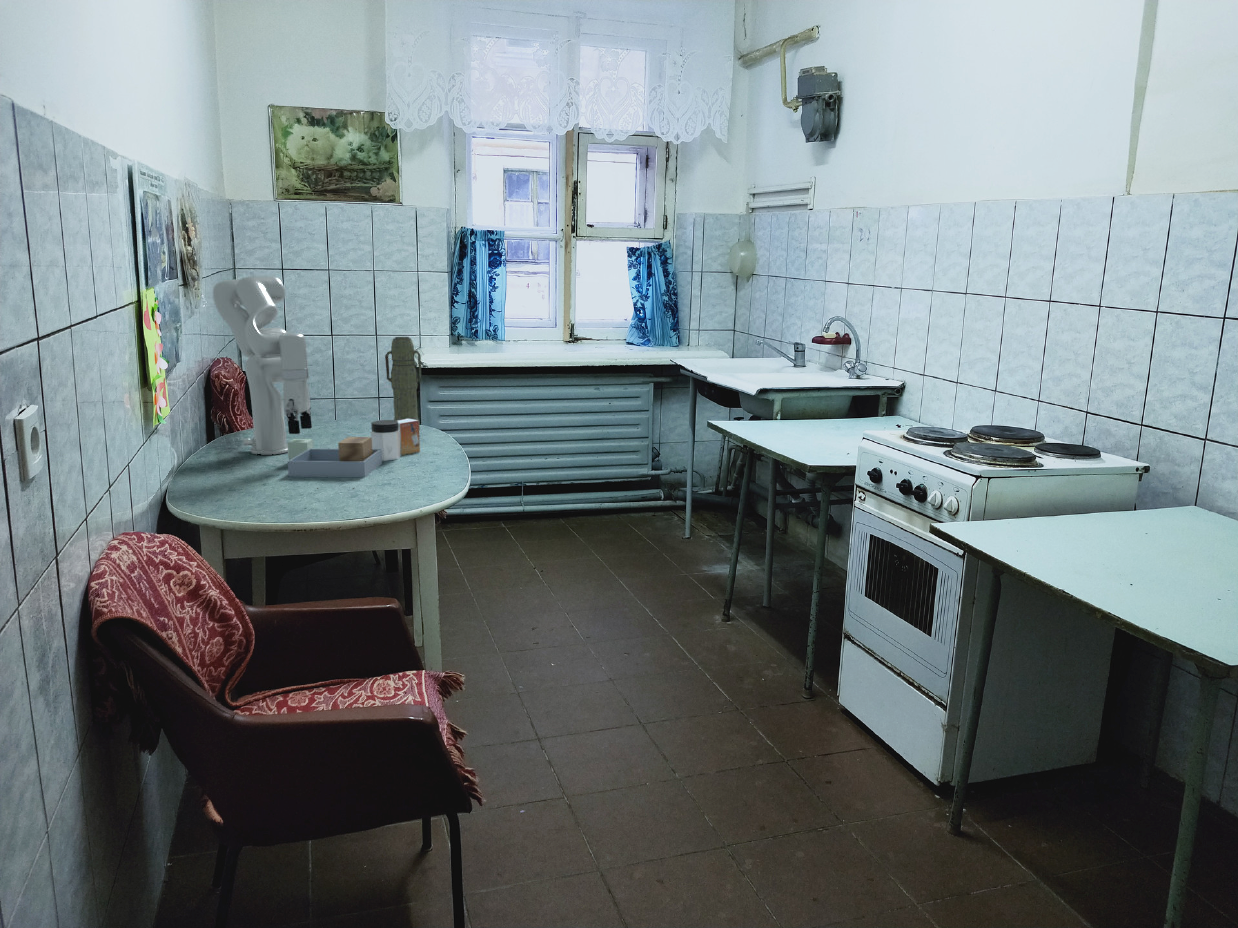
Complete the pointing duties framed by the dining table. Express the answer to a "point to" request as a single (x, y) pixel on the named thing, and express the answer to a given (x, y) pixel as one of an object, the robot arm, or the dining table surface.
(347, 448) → the walnut block
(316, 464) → the box
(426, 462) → the dining table surface
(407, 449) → the small box
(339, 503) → the dining table surface
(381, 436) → the jar
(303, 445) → the pale green block
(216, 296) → the robot arm
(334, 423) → the dining table surface
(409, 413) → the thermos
